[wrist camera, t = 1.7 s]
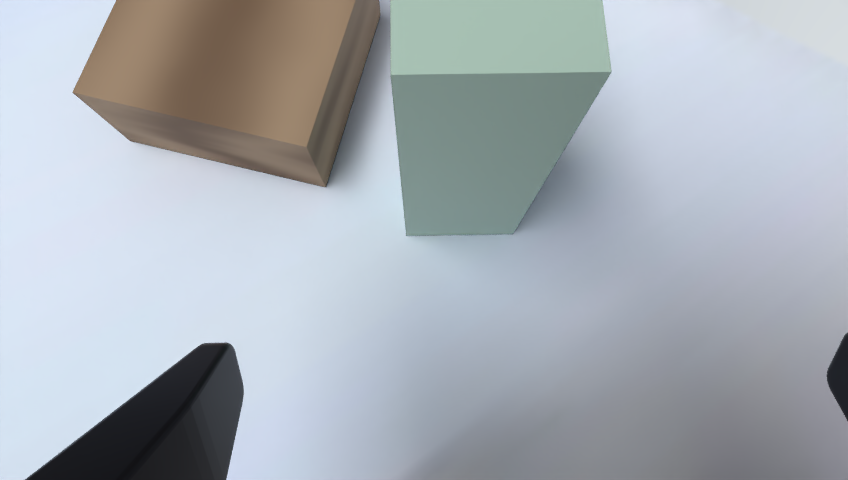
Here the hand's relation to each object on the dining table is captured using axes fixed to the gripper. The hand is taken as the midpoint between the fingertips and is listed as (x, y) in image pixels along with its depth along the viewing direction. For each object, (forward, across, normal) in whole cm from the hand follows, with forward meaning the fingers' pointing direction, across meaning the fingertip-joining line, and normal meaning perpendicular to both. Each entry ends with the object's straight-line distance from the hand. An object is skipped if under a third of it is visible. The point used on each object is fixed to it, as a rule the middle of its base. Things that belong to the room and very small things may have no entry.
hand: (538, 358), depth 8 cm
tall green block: (+15, 0, +4) cm, 16 cm away
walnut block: (+19, +9, 0) cm, 21 cm away
